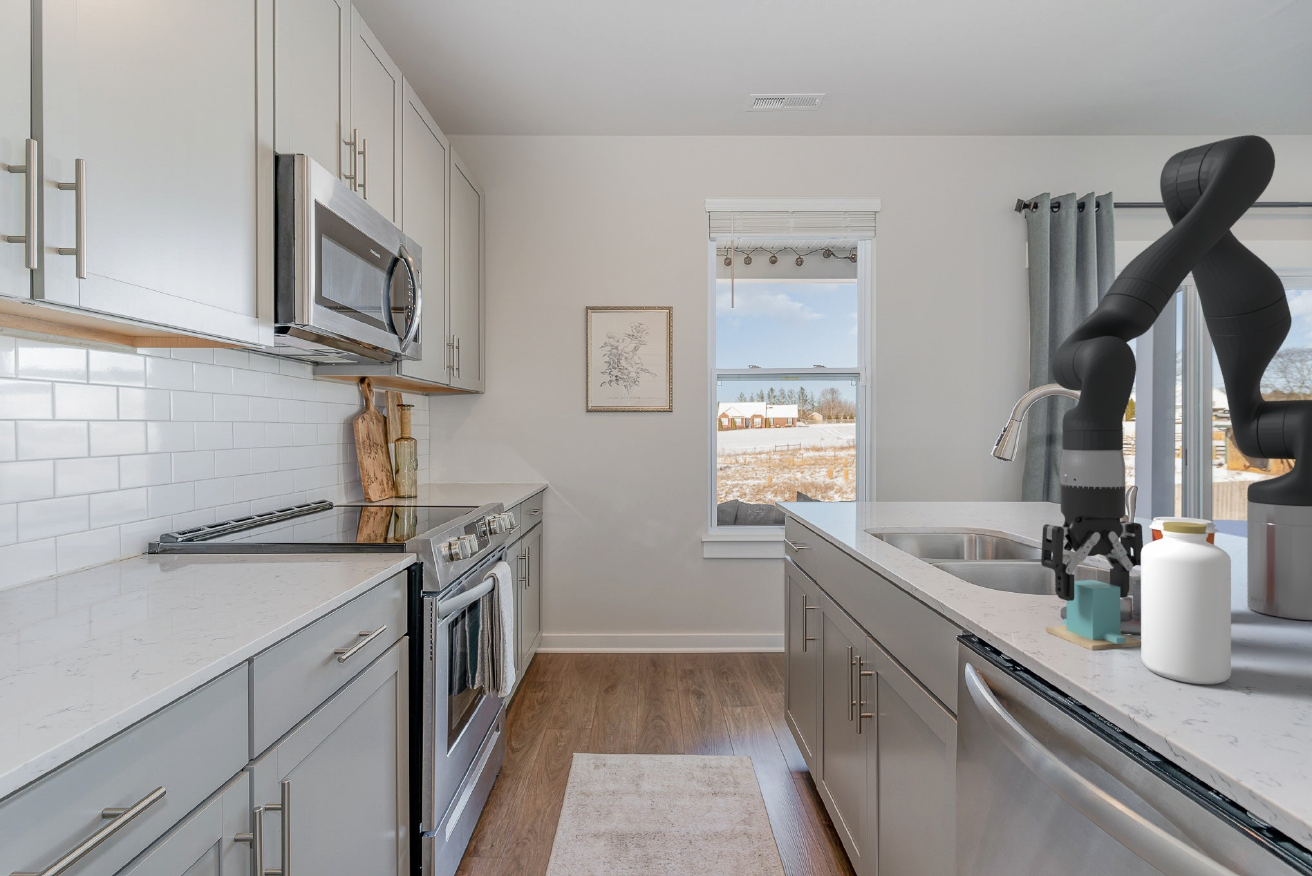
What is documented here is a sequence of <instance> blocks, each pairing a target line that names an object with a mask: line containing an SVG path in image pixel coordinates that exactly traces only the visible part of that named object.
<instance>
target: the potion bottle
mask: <svg viewBox="0 0 1312 876" xmlns="http://www.w3.org/2000/svg"><path fill="white" fill-rule="evenodd" d="M1163 527H1164V529H1162V530H1161V532H1162V535H1163V539H1159V540H1156V541H1153V540H1152V541H1151V542H1148V543H1147V544H1145V545H1143V548H1142V550H1141V566H1140V576H1141V635H1140V640H1141V646H1140V651H1141V652H1140V654H1141V655H1140V656H1141V657H1140V659H1141V661H1142V663H1143V665H1144V667H1146V668H1147V669H1148V670H1149V671H1151V672H1152V673H1154V674H1156V675H1159V676H1161V677H1164V678H1167V679H1170V680H1173V681H1178V682H1181V683H1182V682H1183V683H1187V684H1196V685H1217V684H1221V683H1224V682H1226V681H1228V680H1229V678H1230V676H1231V675H1232V559H1231V556H1230V554H1228V552H1227V551H1225V550H1224V549H1222V548H1221V547H1219V546H1217V545H1215V544H1214V545H1213V544H1210V543H1208V542H1206V538H1207V537H1208V533H1207V532H1205V531H1206V527H1207V526H1206V525H1204V524H1198V523H1190V522H1163Z"/></svg>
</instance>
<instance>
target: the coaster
mask: <svg viewBox="0 0 1312 876" xmlns="http://www.w3.org/2000/svg"><path fill="white" fill-rule="evenodd" d="M1045 633H1048V634H1051V635H1054V636H1056V637H1059V638H1060V639H1064V640H1066V641H1068V642H1071V643H1073V644H1076V645H1078V646H1081V647H1083V648H1086V649H1088V650H1091V651H1094V650H1095V651H1098V650H1108V649H1110V650H1111V649H1119V647H1122V648H1129V647H1128V646H1134V647H1141V639H1139V638H1136V637H1132V636H1131V635H1124V634H1121V633H1120V636H1123V637H1125V642H1126V643H1122V644H1115V643H1112V642H1110V641H1107V640H1104V639H1102V640H1091V639H1088V638H1086V637H1083V636H1080V635H1078V634H1075V633H1072V632H1070V631H1067V626H1066V625H1061V626H1048V627H1047V626H1046V627H1045Z"/></svg>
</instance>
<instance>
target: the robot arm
mask: <svg viewBox="0 0 1312 876" xmlns="http://www.w3.org/2000/svg"><path fill="white" fill-rule="evenodd" d="M1275 155H1276V154H1275V152H1274V149H1273V147H1272V145H1271V144H1270V142H1269V141H1267V139H1265V138H1264V137H1262V136H1260V135H1254V134H1248V135H1246V134H1245V135H1239V136H1234V137H1229V138H1225V139H1222V140H1218V141H1214V142H1210V143H1209V142H1208V143H1207V144H1206V143H1205V144H1201V145H1199V146H1195V147H1191V148H1188V149H1184V150H1182V151H1179V152H1176V153H1175V154H1173V155H1172V156H1170V157H1169V158H1168V159H1167V161H1166V162H1165V164H1164V166H1163V168H1162V170H1161V174H1160V179H1159V185H1160V186H1159V189H1160V195H1161V199H1162V203H1163V206H1164V209H1165V211H1166V214H1167V216H1168V218H1169V220H1170V222H1171V225H1172V227H1171V228H1170V229H1169V230H1167V232H1166V233H1164V234H1162V236H1161V237H1159V238H1158V239H1157V240H1155V241H1154V242H1153V243H1151V244H1150V245H1149V246H1148V247H1146V248H1145V249H1144V250H1143V251H1142V252H1140V253H1139V254H1138V255H1136V256H1135V257H1134V258H1133V259H1132V260H1131V261H1130V262H1129V263H1128V264H1127V265H1125V267H1124V268H1123V269H1122V270H1121V272H1120V273H1119V275H1117V276H1116V278H1115V280H1114V281H1113V283H1112V285H1110V287H1109V288H1108V290H1107V292H1106V293H1105V295H1104V296H1103V298H1102V299H1101V301H1100V302H1099V304H1098V306H1097V307H1096V308H1095V309H1094V311H1093V312H1091V314H1090V315H1088V316H1087V317H1086V318H1085V319H1084V320H1083V321H1082V322H1081V323H1080V324H1079V325H1078V326H1077V327H1076V328H1075V329H1074V330H1073V332H1071V334H1070V335H1069V336H1068V337H1067V338H1066V339H1065V340H1063V343H1062V344H1061V345H1060V346H1059V347H1058V349H1057V351H1056V353H1055V355H1054V357H1053V361H1052V365H1051V372H1052V377H1053V379H1054V380H1055V382H1056V383H1057V385H1059V386H1060V387H1062V388H1064V389H1066V390H1068V391H1075V392H1080V394H1079V398H1078V403H1077V405H1076V406H1075V407H1073V408H1071V409H1069V410H1067V411H1066V412H1065V413H1064V414H1063V418H1062V426H1061V427H1062V429H1061V430H1062V450H1061V452H1062V453H1061V459H1060V512H1061V514H1062V515H1063V517H1064V522H1063V524H1062V525H1061V526H1059V525H1053V524H1048V523H1046V524H1044V525H1043V527H1042V536H1041V538H1042V539H1041V541H1042V542H1041V561H1040V564H1041V565H1042V567H1044V568H1048V569H1051V570H1053V571H1054V573H1055V575H1054V577H1055V578H1054V579H1055V580H1054V582H1055V587H1054V588H1055V589H1054V590H1055V593H1056V595H1057V598H1059V599H1060V600H1063V601H1066V602H1067V601H1073V600H1074V580H1075V574H1073V573H1074V572H1075V570H1076V568H1077V567H1078V565H1079V564H1080V563H1082V562H1084V561H1085V560H1086V559H1087V557H1095V556H1097V555H1101V556H1102V557H1105V559H1106V561H1108V563H1109V564H1110V566H1111V567H1112V568H1109V584H1110V585H1114V586H1118V587H1120V597H1121V598H1122V597H1127V596H1128V597H1129V595H1128V594H1129V592H1130V583H1129V577H1130V571H1132V569H1134V567H1136V566H1139V567H1141V550H1142V548H1143V547H1144V541H1143V537H1144V536H1143V525H1142V524H1141V523H1138V522H1133V521H1127V520H1125V521H1124V520H1121V519H1122V518H1124V517H1125V516H1126V512H1127V511H1126V462H1125V457H1124V431H1123V430H1124V426H1123V423H1124V416H1125V414H1126V411H1127V408H1128V406H1129V402H1130V398H1131V395H1132V390H1133V387H1134V383H1135V379H1136V376H1137V375H1136V374H1137V362H1136V356H1135V354H1134V351H1133V349H1132V347H1131V346H1130V344H1128V342H1130V341H1132V340H1134V339H1137V338H1139V337H1141V336H1143V335H1144V334H1146V332H1148V331H1149V330H1150V329H1151V328H1152V326H1153V325H1154V324H1155V323H1156V321H1157V319H1158V318H1159V316H1160V315H1161V313H1162V312H1163V310H1164V308H1165V307H1166V306H1167V304H1168V303H1169V301H1170V300H1171V298H1172V297H1173V296H1174V294H1175V293H1176V291H1177V290H1178V288H1179V287H1180V285H1181V284H1182V283H1183V281H1184V280H1185V279H1186V278H1187V276H1188V275H1189V274H1190V272H1191V274H1192V277H1193V280H1194V284H1195V287H1196V290H1197V293H1198V296H1199V300H1200V306H1201V310H1202V315H1203V316H1204V320H1205V324H1206V327H1207V330H1208V333H1209V337H1210V339H1211V342H1212V346H1213V348H1214V350H1215V351H1214V352H1215V354H1216V357H1217V361H1218V364H1219V368H1220V369H1219V370H1220V373H1221V375H1222V379H1223V384H1224V388H1225V389H1224V390H1225V394H1226V401H1227V406H1228V413H1229V418H1230V423H1231V427H1232V433H1233V437H1234V440H1235V441H1234V442H1236V446H1237V448H1238V450H1239V451H1240V452H1241V454H1243V456H1245V457H1248V458H1252V459H1263V460H1265V459H1266V460H1267V459H1268V460H1270V459H1271V460H1294V464H1293V467H1292V469H1290V470H1289V471H1288V472H1286V473H1284V474H1282V475H1279V476H1276V477H1273V478H1270V479H1264V480H1259V481H1255V482H1252V483H1250V484H1248V486H1247V492H1246V493H1247V494H1246V495H1247V497H1246V498H1247V499H1246V500H1247V506H1246V508H1247V514H1246V515H1247V516H1246V517H1247V519H1246V520H1247V523H1246V524H1247V531H1246V532H1247V536H1246V538H1247V539H1246V541H1247V543H1246V544H1247V547H1246V548H1247V561H1246V562H1247V568H1246V569H1247V581H1246V583H1247V584H1246V587H1247V597H1246V598H1247V609H1250V610H1252V611H1255V612H1257V613H1260V614H1264V615H1268V616H1274V617H1277V618H1285V619H1292V620H1302V621H1303V620H1305V621H1312V399H1290V400H1289V399H1288V400H1265V399H1264V398H1263V396H1262V393H1261V381H1262V379H1263V376H1264V374H1265V372H1266V370H1267V368H1268V366H1270V364H1271V361H1272V359H1273V358H1274V357H1275V356H1276V354H1277V353H1278V351H1279V350H1280V348H1281V347H1282V345H1283V343H1284V341H1285V340H1286V338H1287V336H1288V334H1289V333H1290V330H1291V327H1292V314H1291V309H1290V306H1289V302H1288V297H1287V295H1286V291H1285V288H1284V284H1283V282H1282V281H1281V278H1280V277H1279V275H1278V274H1277V273H1276V272H1275V271H1274V270H1273V269H1272V268H1271V267H1270V265H1268V263H1266V262H1265V261H1263V260H1262V259H1261V258H1260V257H1258V256H1257V254H1255V253H1254V252H1252V250H1250V249H1249V248H1247V247H1246V246H1245V245H1244V244H1243V243H1242V242H1241V241H1240V240H1239V239H1238V238H1237V237H1236V236H1235V235H1234V233H1233V232H1232V231H1231V228H1232V227H1233V226H1234V225H1235V224H1236V223H1237V222H1238V221H1239V220H1240V219H1241V218H1242V217H1243V216H1244V214H1245V213H1246V212H1248V210H1250V208H1251V207H1252V206H1253V205H1254V204H1255V203H1256V202H1257V201H1258V199H1259V198H1260V197H1261V196H1262V194H1263V193H1264V192H1265V190H1266V189H1267V187H1268V186H1269V185H1270V182H1271V180H1272V178H1273V175H1274V171H1275V167H1276V158H1275V157H1276V156H1275ZM1072 550H1073V551H1072Z"/></svg>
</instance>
